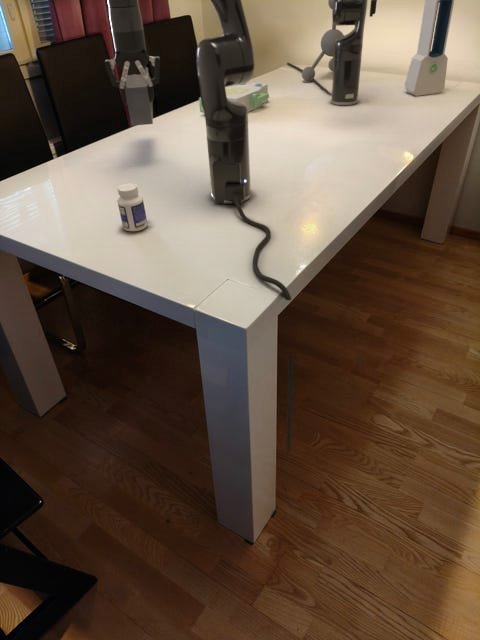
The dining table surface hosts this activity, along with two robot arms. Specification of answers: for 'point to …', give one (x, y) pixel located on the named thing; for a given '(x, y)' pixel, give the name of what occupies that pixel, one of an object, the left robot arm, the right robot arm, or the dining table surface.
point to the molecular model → (324, 49)
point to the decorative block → (246, 95)
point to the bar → (138, 100)
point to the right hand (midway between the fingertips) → (355, 17)
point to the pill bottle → (131, 208)
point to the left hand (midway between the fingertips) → (139, 102)
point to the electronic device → (428, 63)
